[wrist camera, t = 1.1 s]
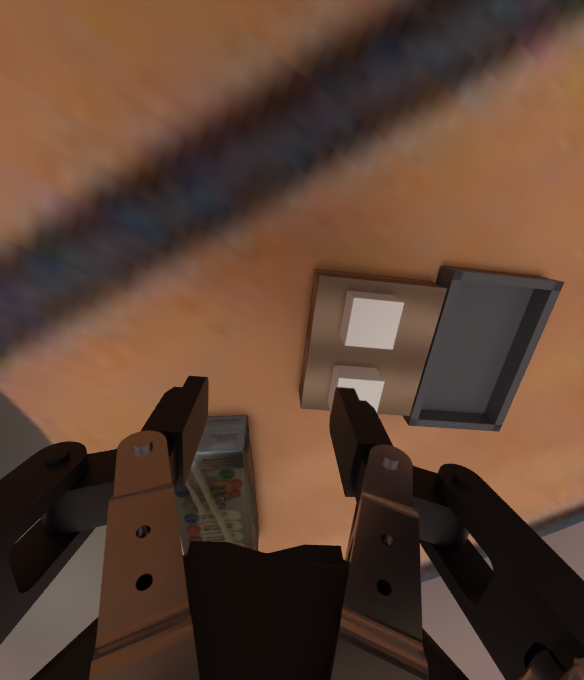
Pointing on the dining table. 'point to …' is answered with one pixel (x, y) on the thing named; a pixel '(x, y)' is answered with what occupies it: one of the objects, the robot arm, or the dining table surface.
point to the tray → (481, 347)
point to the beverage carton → (220, 487)
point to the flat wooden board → (393, 365)
